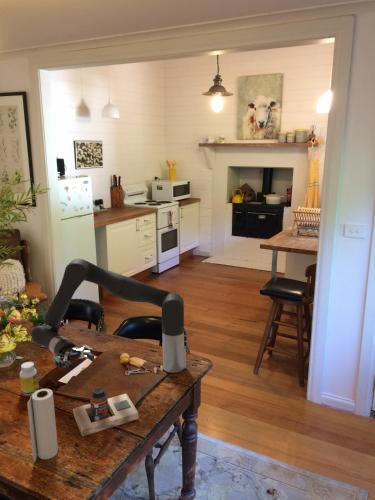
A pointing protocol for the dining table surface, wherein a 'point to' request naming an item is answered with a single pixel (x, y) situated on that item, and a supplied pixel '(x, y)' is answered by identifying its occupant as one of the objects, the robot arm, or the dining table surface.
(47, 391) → the paper towel roll
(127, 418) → the board
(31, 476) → the dining table surface
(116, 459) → the dining table surface
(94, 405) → the supplement bottle
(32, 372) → the pill bottle
